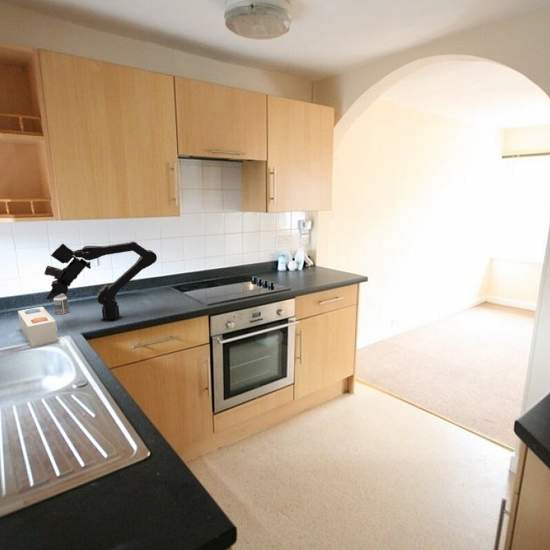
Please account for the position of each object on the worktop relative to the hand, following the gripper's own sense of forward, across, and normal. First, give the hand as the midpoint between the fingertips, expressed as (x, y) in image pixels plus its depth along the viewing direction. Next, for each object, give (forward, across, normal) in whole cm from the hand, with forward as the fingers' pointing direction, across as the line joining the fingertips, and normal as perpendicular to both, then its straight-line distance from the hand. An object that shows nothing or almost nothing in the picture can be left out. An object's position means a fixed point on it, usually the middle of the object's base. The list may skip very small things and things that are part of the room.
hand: (47, 299), depth 156 cm
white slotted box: (+12, +7, +6) cm, 15 cm away
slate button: (+9, 0, 0) cm, 9 cm away
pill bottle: (+7, -22, +11) cm, 26 cm away
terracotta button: (+6, +15, +3) cm, 16 cm away
